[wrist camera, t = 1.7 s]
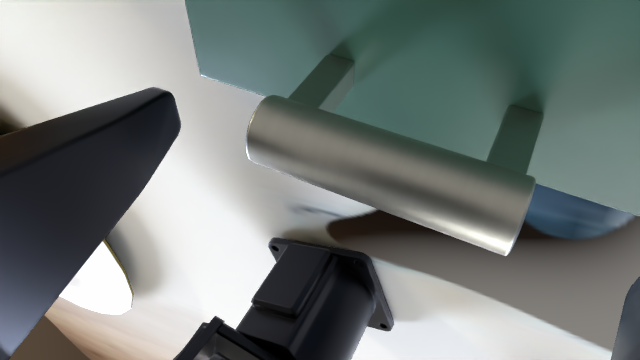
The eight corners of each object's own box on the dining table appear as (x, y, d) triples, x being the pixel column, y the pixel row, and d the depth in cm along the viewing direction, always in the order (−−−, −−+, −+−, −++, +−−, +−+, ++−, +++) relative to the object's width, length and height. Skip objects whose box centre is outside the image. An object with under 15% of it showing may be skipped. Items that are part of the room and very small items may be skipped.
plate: (-191, -7, 37) (-219, 4, 36) (135, 188, 34) (115, 208, 32) (-52, 206, 60) (-66, 217, 58) (150, 335, 56) (139, 349, 55)
